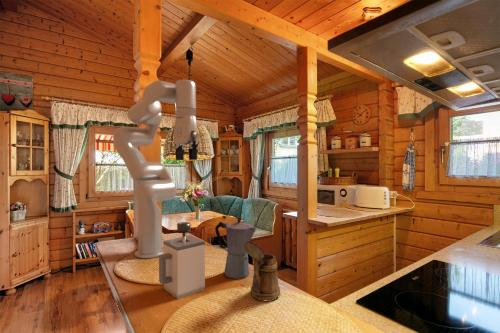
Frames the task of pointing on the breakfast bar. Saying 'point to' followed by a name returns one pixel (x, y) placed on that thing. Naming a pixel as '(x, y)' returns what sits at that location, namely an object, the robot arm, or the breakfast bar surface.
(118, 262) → the breakfast bar surface
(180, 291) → the carafe
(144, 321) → the breakfast bar surface
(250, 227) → the moka pot
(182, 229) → the plunger
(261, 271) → the wooden mug
